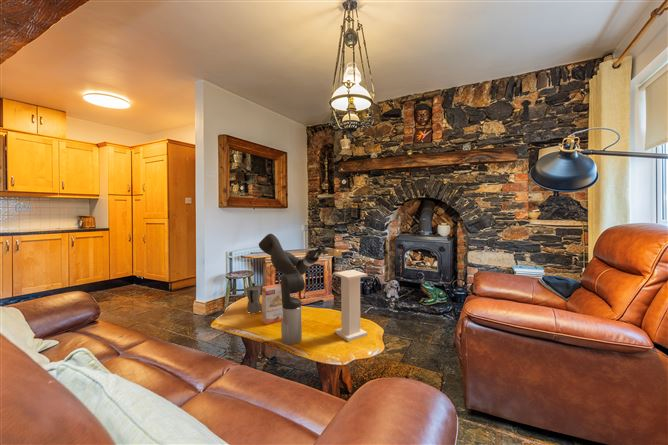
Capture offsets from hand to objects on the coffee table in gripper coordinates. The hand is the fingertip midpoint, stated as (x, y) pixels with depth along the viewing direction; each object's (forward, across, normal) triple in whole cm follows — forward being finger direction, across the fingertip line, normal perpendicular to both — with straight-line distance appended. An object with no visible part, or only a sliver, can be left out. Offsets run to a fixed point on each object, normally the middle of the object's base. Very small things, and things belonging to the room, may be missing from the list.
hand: (322, 248), depth 170 cm
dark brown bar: (+4, 0, +5) cm, 7 cm away
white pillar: (+3, 0, +50) cm, 50 cm away
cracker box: (-30, -26, +31) cm, 50 cm away
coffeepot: (-48, -32, +20) cm, 61 cm away
